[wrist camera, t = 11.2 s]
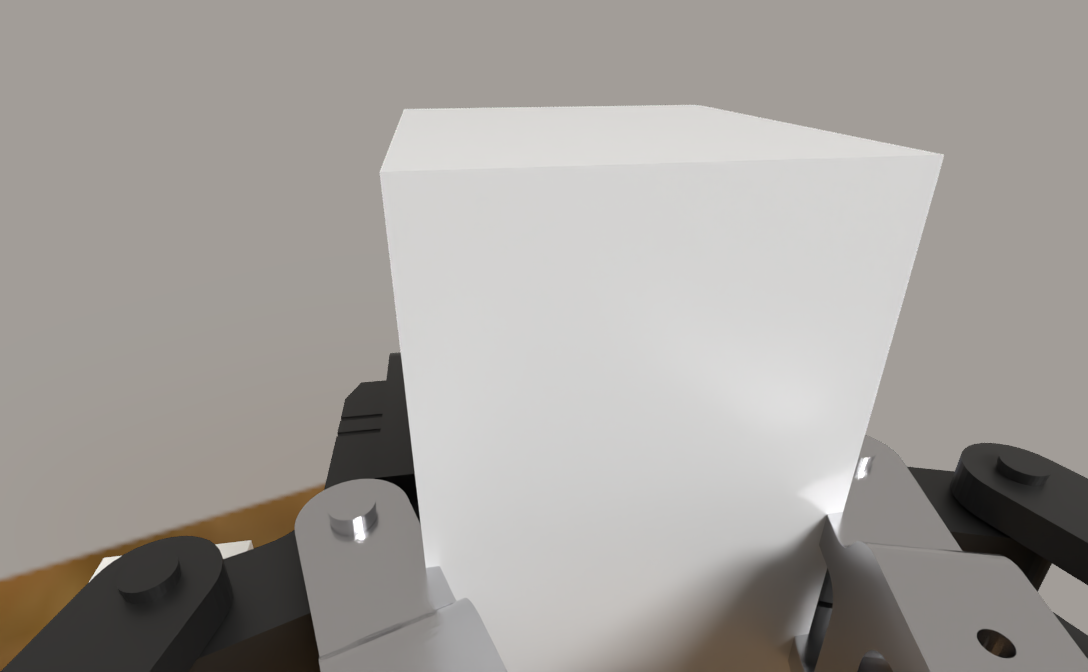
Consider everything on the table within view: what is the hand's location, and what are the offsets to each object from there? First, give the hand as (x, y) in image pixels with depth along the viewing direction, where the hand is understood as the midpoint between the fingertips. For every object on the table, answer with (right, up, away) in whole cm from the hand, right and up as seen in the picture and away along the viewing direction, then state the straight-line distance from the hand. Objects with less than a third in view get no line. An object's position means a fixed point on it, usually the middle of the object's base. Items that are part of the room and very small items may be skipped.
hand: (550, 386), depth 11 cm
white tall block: (0, -7, +1) cm, 8 cm away
